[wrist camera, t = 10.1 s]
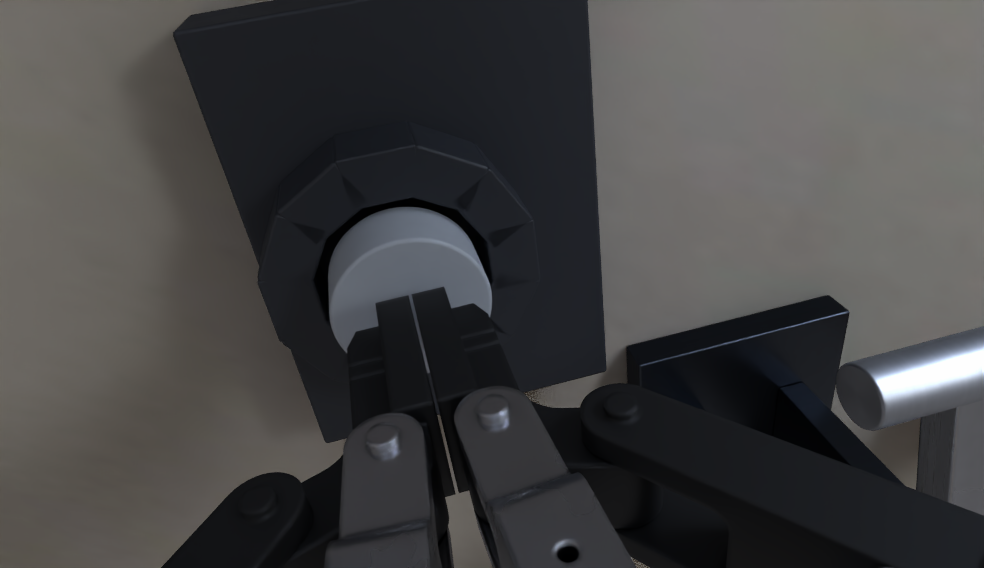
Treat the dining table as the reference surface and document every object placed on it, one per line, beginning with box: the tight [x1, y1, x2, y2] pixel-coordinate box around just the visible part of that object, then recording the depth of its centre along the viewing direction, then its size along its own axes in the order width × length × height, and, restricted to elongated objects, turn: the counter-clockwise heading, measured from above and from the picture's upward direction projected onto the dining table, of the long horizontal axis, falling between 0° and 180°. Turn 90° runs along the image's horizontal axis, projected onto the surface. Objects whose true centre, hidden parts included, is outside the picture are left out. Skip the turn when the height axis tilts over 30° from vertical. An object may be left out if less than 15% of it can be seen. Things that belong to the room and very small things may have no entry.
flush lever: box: [836, 326, 984, 516], centre depth 16 cm, size 12×5×2 cm, turn 7°
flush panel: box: [173, 0, 606, 443], centre depth 18 cm, size 12×9×4 cm
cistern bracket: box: [627, 295, 905, 486], centre depth 21 cm, size 10×8×13 cm
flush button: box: [328, 207, 492, 373], centre depth 15 cm, size 4×4×2 cm
